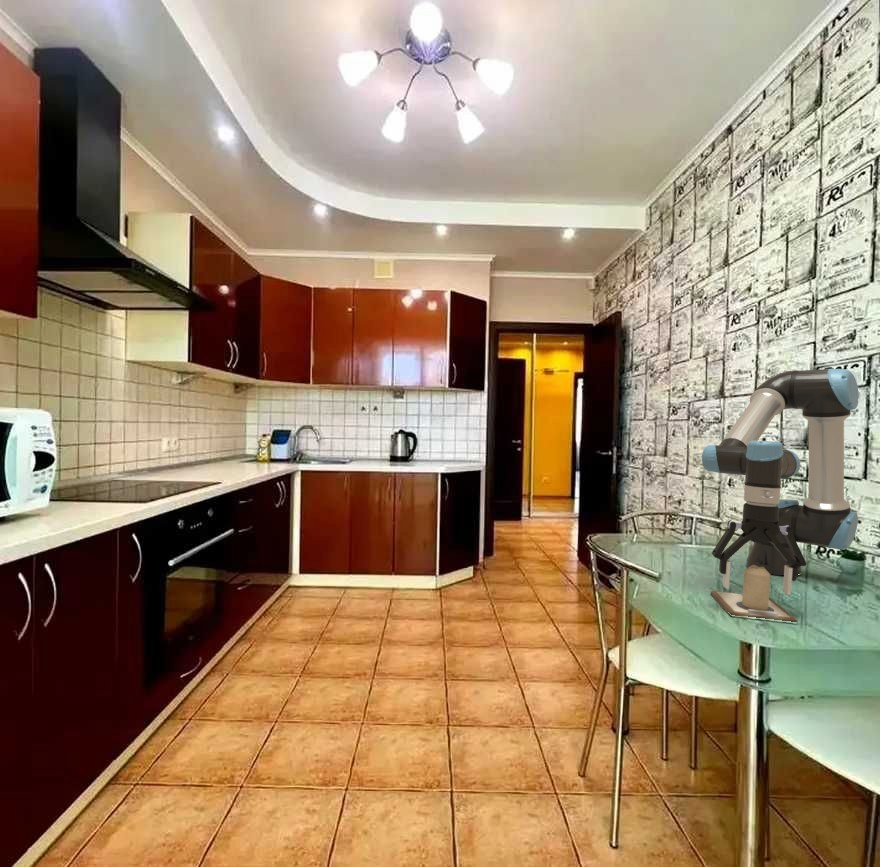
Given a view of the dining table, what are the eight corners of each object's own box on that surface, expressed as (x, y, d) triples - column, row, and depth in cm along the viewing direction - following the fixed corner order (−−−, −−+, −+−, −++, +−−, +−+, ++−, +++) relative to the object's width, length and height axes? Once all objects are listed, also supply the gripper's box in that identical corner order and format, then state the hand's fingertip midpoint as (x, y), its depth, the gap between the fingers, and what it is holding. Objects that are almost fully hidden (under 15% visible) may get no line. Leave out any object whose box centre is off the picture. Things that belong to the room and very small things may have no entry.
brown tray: (767, 600, 142) (768, 592, 142) (797, 624, 125) (797, 616, 125) (710, 594, 145) (710, 586, 145) (730, 617, 128) (731, 608, 128)
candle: (737, 602, 135) (739, 563, 134) (758, 603, 135) (760, 563, 135) (751, 610, 129) (754, 569, 129) (773, 611, 130) (776, 569, 129)
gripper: (710, 501, 131) (704, 588, 131) (826, 510, 125) (820, 601, 126) (702, 497, 138) (697, 580, 138) (811, 505, 132) (806, 591, 133)
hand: (755, 590), depth 132 cm, fingers open, 13 cm apart
